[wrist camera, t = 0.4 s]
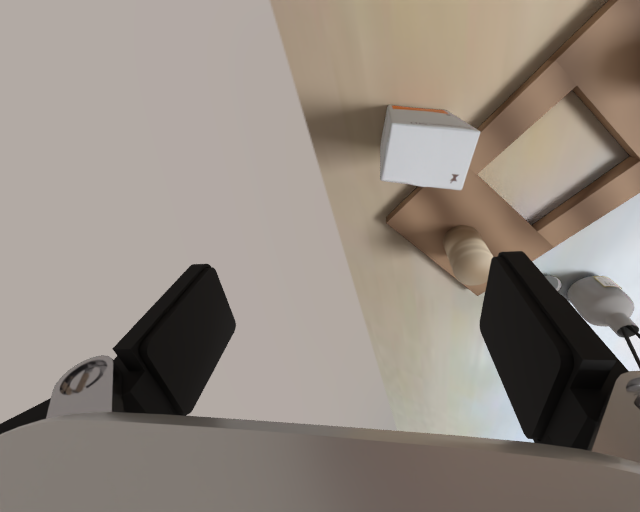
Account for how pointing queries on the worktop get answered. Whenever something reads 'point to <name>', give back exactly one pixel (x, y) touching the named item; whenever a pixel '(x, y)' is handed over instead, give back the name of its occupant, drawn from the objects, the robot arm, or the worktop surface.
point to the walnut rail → (512, 121)
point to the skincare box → (426, 147)
